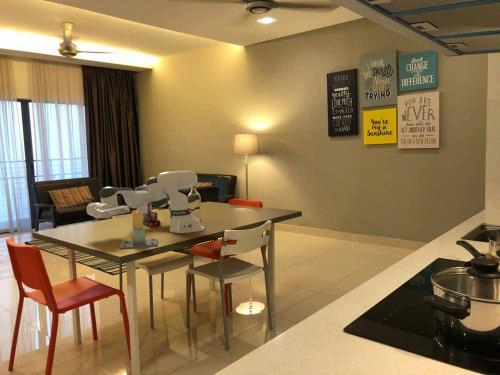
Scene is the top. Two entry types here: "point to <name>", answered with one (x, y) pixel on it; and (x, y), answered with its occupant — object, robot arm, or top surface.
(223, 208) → the top surface
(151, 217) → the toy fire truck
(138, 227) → the round brick
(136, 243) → the tower base
